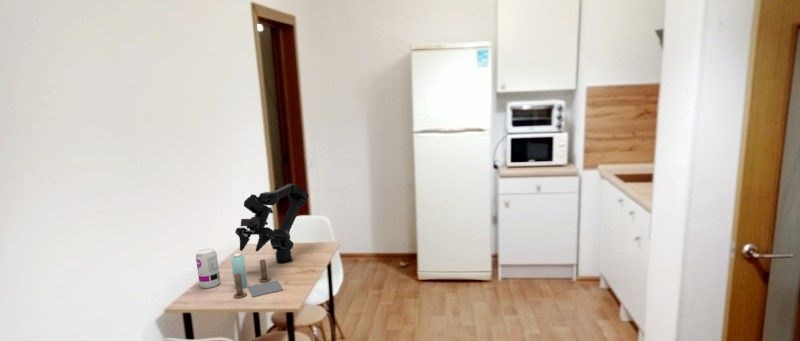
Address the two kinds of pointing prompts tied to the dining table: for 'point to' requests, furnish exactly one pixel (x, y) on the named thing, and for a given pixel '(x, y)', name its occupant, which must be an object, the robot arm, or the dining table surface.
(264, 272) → the walnut gate posts
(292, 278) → the dining table surface
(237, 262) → the teal bottle
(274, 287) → the charcoal rubber mat
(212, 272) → the supplement can
